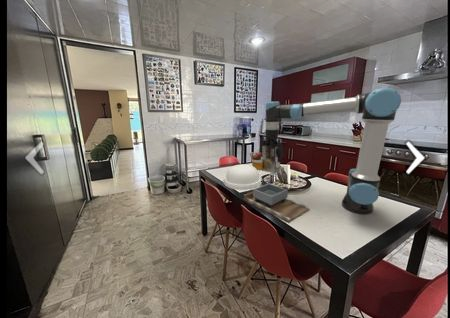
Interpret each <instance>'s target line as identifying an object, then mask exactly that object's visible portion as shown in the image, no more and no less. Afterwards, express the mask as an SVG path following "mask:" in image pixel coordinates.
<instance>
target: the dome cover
mask: <svg viewBox="0 0 450 318" xmlns="http://www.w3.org/2000/svg"><path fill="white" fill-rule="evenodd" d="M261 181H262V182H263V177H260V174H259V170H257V169H256V168H255V167H253V165H250V164H242V163H241V164H236V165H233V166H231V167H230V168H229V169H228V170H227V171H226V176H225V178H223V180H222V184H224V185H225V187H227V188H230V189H232V190H238V191H239V190H240V191H245V190H253V189H255V188H258V187H260V186H262V182H261Z"/></svg>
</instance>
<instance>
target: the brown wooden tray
mask: <svg viewBox="0 0 450 318" xmlns="http://www.w3.org/2000/svg"><path fill="white" fill-rule="evenodd" d="M243 201H244V202H247V203H248V204H251V205H252V206H254V207H255V208H259V209H260V210H262V211H264V212H266V213H268V214H270V215H272V216H274V217H276V218H278V219H279V220H281V221H283V220H284V221H283V222H285V221H286V222H285V223H287V222H288V223H287V224H289V223H291V222H292V221H294V220H295V219H297V218H299V217H300V216H302V215H304V214H305V213H307V212H309V211H310V207H309V206H307V205H305V204H302V203H299V202H297V201H294V200H293V199H289V198H288V197H287V198H285V201H283V202H282V201H279V202H277V203H275V204H273V206H272V207H271V208H269V207H268V206H267V203H266V202H264V201H261V200H260V201H258V202H256V200H255V197H253V190H252V191H250V192H248V193H245V194H243Z"/></svg>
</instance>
